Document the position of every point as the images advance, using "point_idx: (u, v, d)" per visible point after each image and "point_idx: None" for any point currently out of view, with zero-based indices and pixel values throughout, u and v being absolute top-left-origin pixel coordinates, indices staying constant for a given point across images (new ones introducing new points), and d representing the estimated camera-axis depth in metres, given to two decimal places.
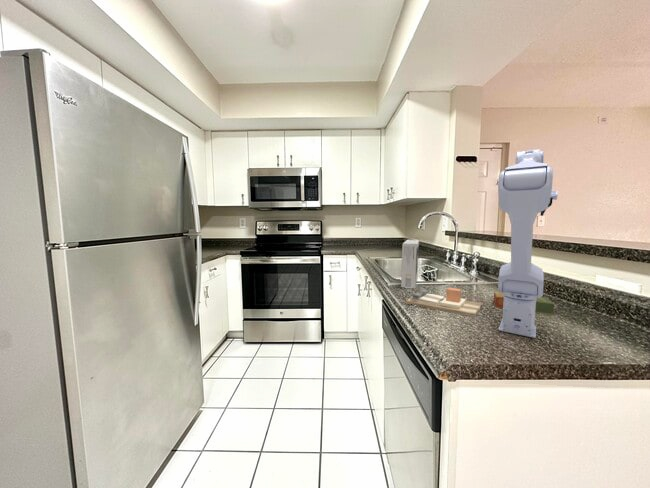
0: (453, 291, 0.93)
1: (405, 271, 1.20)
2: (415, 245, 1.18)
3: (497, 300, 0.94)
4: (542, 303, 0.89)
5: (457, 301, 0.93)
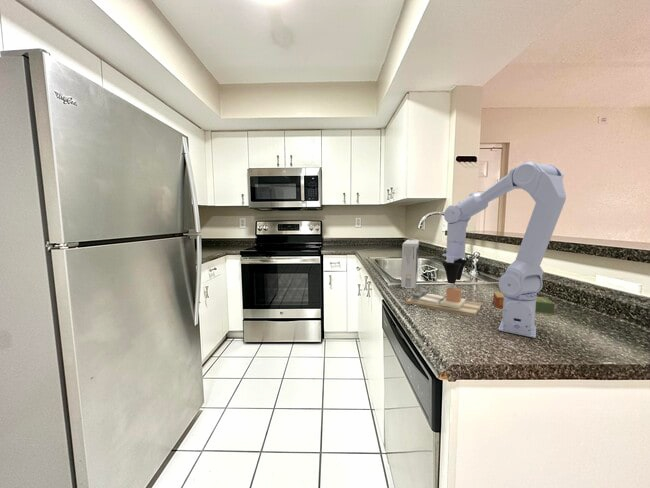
0: (453, 291, 0.93)
1: (405, 271, 1.20)
2: (415, 245, 1.18)
3: (498, 300, 0.94)
4: (543, 303, 0.89)
5: (457, 301, 0.93)
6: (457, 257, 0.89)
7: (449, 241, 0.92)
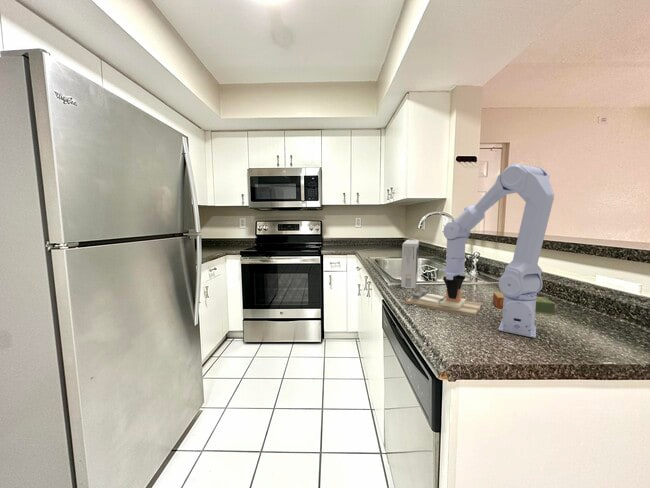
0: None
1: (405, 271, 1.20)
2: (415, 245, 1.18)
3: (498, 301, 0.94)
4: (543, 303, 0.89)
5: (457, 301, 0.93)
6: (456, 274, 0.90)
7: (448, 257, 0.93)
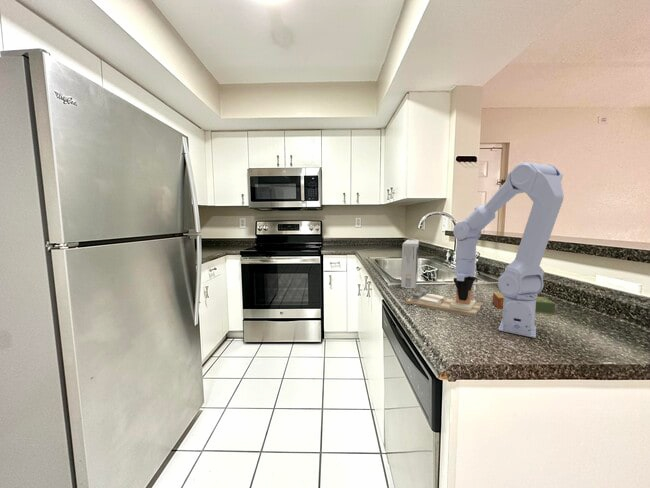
0: None
1: (405, 271, 1.20)
2: (415, 245, 1.18)
3: (499, 301, 0.93)
4: (543, 303, 0.89)
5: (467, 303, 0.91)
6: (467, 275, 0.88)
7: (459, 258, 0.91)
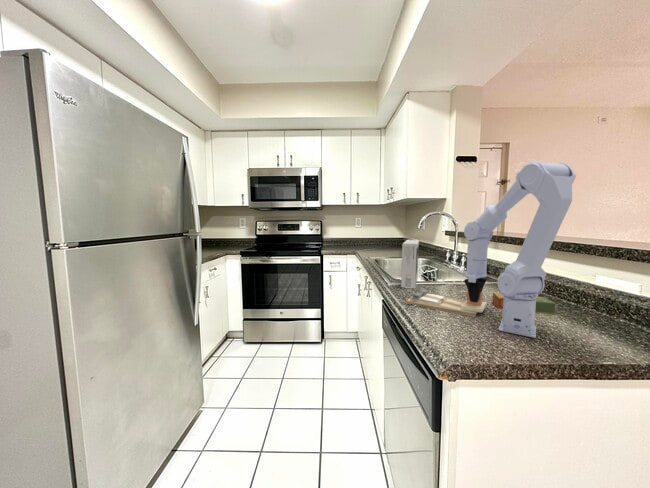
0: None
1: (405, 271, 1.20)
2: (415, 245, 1.18)
3: (500, 301, 0.93)
4: (544, 303, 0.89)
5: (478, 305, 0.89)
6: (479, 276, 0.86)
7: (470, 259, 0.89)
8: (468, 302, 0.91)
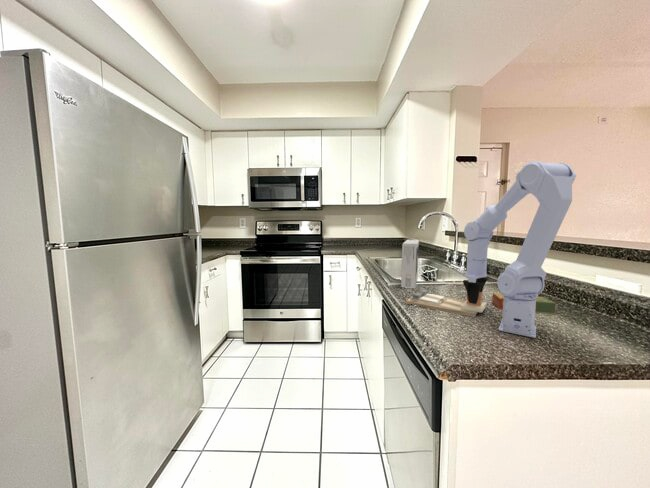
0: None
1: (405, 271, 1.20)
2: (415, 245, 1.18)
3: (500, 302, 0.93)
4: (544, 303, 0.89)
5: (478, 305, 0.89)
6: (479, 276, 0.86)
7: (470, 259, 0.89)
8: (468, 302, 0.91)
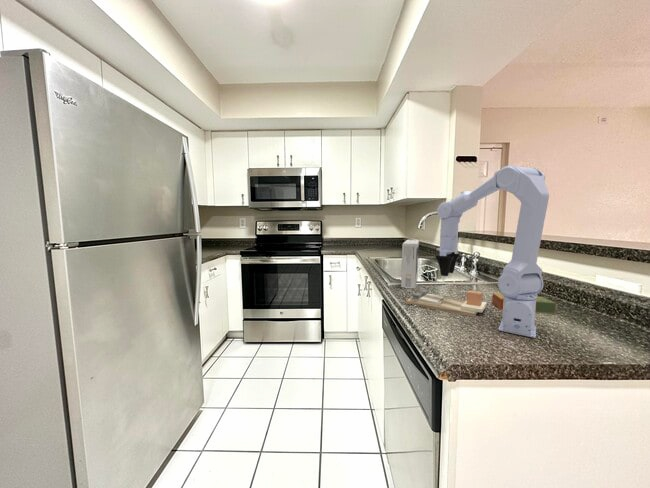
0: (474, 294, 0.89)
1: (405, 271, 1.20)
2: (415, 245, 1.18)
3: (501, 302, 0.92)
4: (545, 303, 0.89)
5: (478, 305, 0.89)
6: (449, 251, 0.94)
7: (442, 236, 0.97)
8: (468, 302, 0.91)
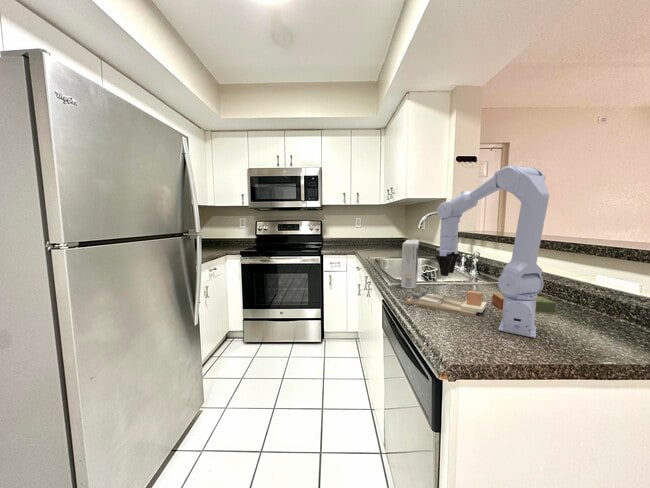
0: (474, 294, 0.89)
1: (405, 271, 1.20)
2: (415, 245, 1.18)
3: (502, 302, 0.92)
4: (545, 303, 0.89)
5: (478, 305, 0.89)
6: (449, 251, 0.94)
7: (442, 236, 0.97)
8: (468, 302, 0.91)
